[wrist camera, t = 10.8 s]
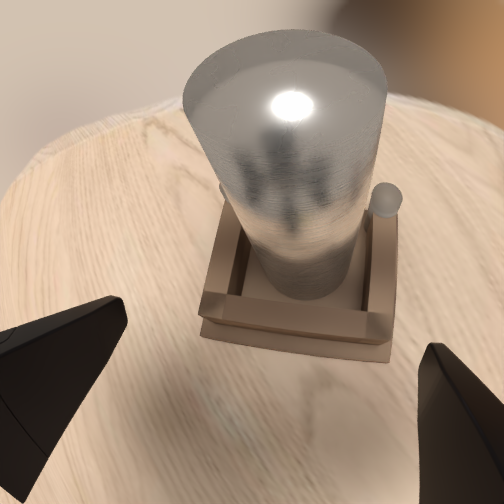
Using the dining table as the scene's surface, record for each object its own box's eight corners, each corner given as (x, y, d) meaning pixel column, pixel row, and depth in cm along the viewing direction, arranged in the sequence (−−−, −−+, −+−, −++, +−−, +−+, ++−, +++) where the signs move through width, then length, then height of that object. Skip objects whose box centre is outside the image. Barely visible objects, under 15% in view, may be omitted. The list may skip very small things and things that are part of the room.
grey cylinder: (345, 305, 19) (398, 161, 6) (256, 294, 20) (153, 151, 7) (352, 223, 20) (376, 33, 8) (271, 215, 22) (213, 35, 9)
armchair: (387, 363, 17) (407, 359, 13) (202, 337, 20) (173, 326, 16) (395, 217, 21) (410, 181, 16) (233, 203, 23) (215, 167, 19)
